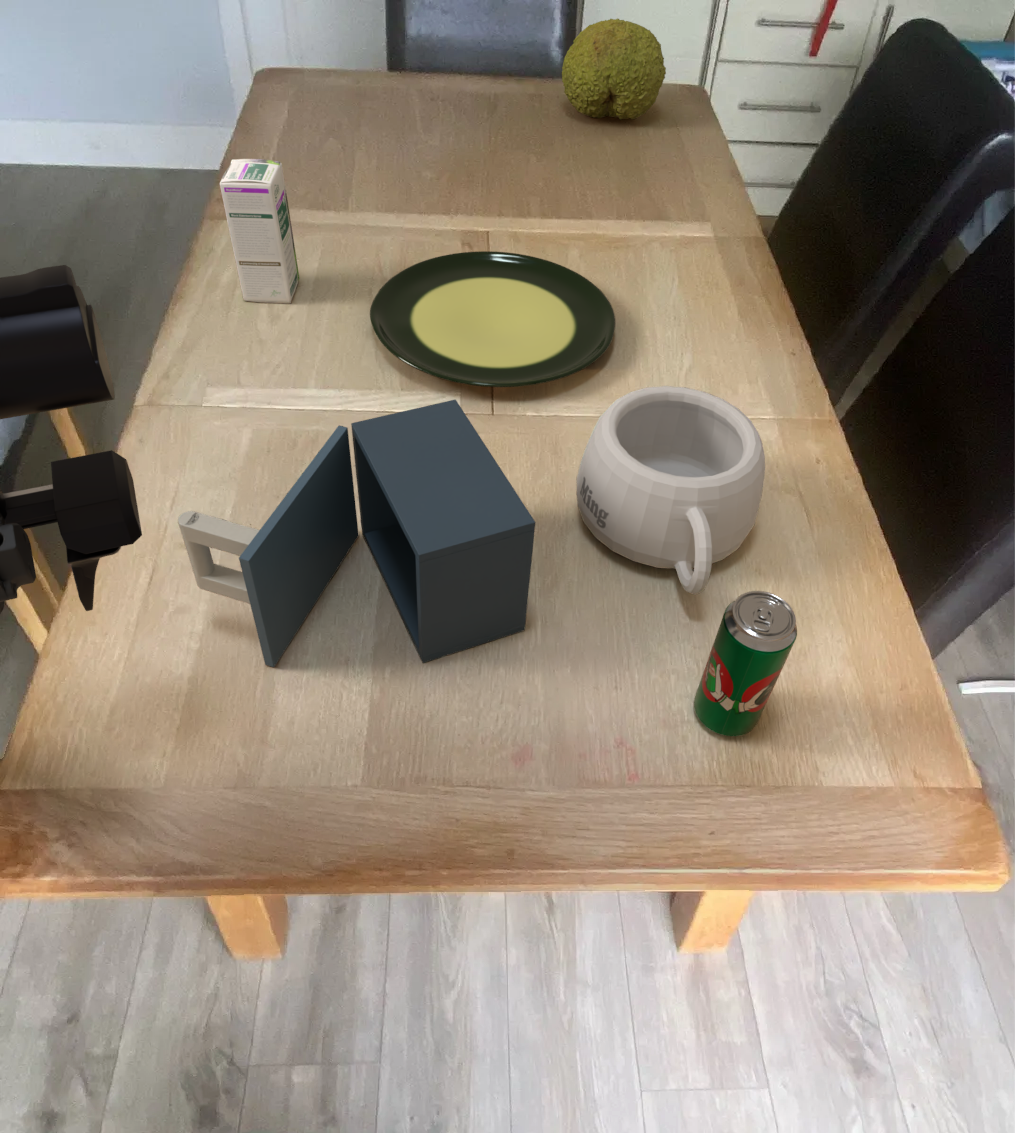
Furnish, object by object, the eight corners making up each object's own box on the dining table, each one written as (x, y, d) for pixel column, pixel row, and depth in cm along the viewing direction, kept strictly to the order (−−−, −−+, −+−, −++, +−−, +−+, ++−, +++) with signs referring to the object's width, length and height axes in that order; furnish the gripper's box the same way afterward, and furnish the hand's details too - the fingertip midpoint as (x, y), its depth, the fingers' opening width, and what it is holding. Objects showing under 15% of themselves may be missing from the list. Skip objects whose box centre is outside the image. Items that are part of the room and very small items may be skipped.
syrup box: (291, 304, 106) (274, 182, 96) (241, 302, 106) (218, 179, 95) (300, 279, 110) (284, 159, 100) (251, 277, 110) (230, 156, 99)
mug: (563, 457, 90) (573, 373, 83) (727, 455, 91) (751, 373, 84) (592, 625, 75) (607, 542, 68) (786, 620, 77) (822, 538, 70)
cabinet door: (194, 642, 72) (157, 534, 63) (287, 515, 82) (267, 406, 73) (274, 667, 71) (248, 560, 62) (358, 535, 81) (347, 427, 72)
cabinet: (422, 663, 72) (418, 555, 63) (361, 533, 81) (350, 422, 72) (524, 630, 75) (535, 522, 66) (454, 508, 84) (455, 398, 75)
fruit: (580, 139, 142) (554, 33, 136) (572, 138, 155) (548, 41, 149) (681, 104, 141) (659, -5, 134) (664, 106, 154) (643, 7, 147)
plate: (662, 361, 102) (666, 342, 100) (444, 433, 92) (444, 413, 90) (531, 249, 118) (533, 231, 116) (332, 300, 107) (331, 281, 106)
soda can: (761, 697, 71) (805, 598, 63) (752, 749, 68) (797, 652, 59) (698, 678, 72) (733, 578, 64) (686, 728, 69) (721, 630, 60)
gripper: (-363, 587, 37) (-173, 777, 49) (111, 491, 43) (183, 683, 54) (-310, 425, 44) (-154, 625, 56) (93, 360, 50) (160, 555, 61)
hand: (11, 624), depth 56 cm, fingers open, 9 cm apart
